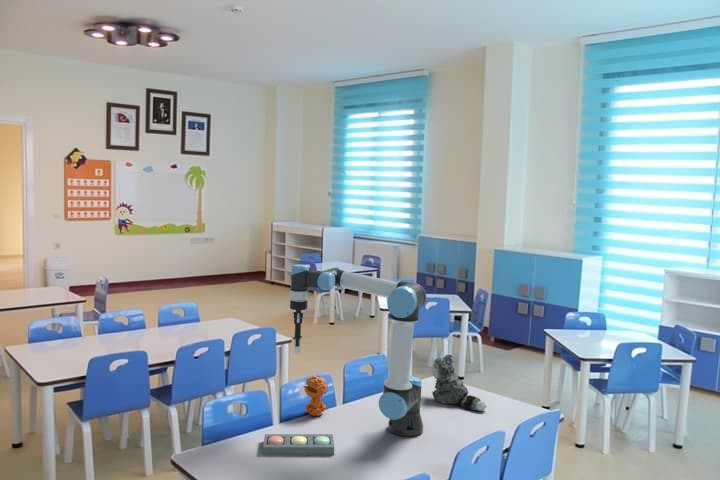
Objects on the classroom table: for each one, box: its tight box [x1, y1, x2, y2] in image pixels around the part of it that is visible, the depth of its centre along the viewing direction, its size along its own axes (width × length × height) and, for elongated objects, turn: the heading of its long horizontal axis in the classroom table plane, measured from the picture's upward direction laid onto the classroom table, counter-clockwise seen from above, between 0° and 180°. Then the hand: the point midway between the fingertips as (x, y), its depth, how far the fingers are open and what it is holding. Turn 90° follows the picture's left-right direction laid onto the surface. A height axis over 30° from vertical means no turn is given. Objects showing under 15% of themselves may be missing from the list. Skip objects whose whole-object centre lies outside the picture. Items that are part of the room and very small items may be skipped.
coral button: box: [268, 436, 284, 444], centre depth 229 cm, size 6×6×3 cm
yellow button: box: [291, 436, 307, 444], centre depth 230 cm, size 6×6×3 cm
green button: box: [314, 436, 330, 444], centre depth 231 cm, size 6×6×3 cm
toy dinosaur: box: [303, 374, 329, 417], centre depth 265 cm, size 11×11×18 cm
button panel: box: [262, 433, 335, 456], centre depth 230 cm, size 12×27×3 cm, turn 96°
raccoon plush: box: [431, 354, 488, 412], centre depth 290 cm, size 15×32×21 cm, turn 60°
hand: (297, 352), depth 258 cm, fingers closed
